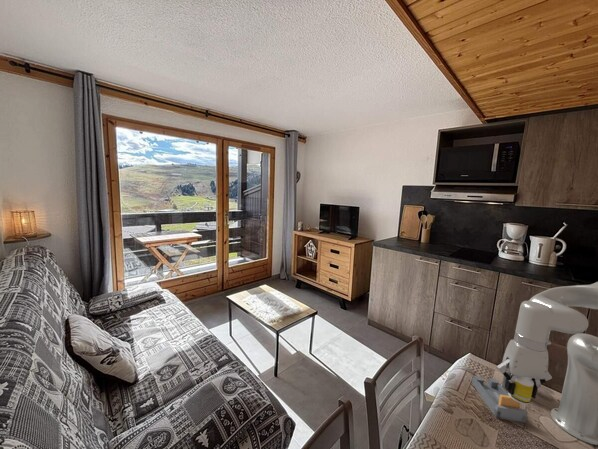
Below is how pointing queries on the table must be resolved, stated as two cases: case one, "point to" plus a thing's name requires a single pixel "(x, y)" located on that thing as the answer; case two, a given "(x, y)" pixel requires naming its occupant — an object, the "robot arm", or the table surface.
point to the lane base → (492, 403)
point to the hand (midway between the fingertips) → (519, 392)
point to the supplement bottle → (523, 390)
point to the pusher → (506, 400)
